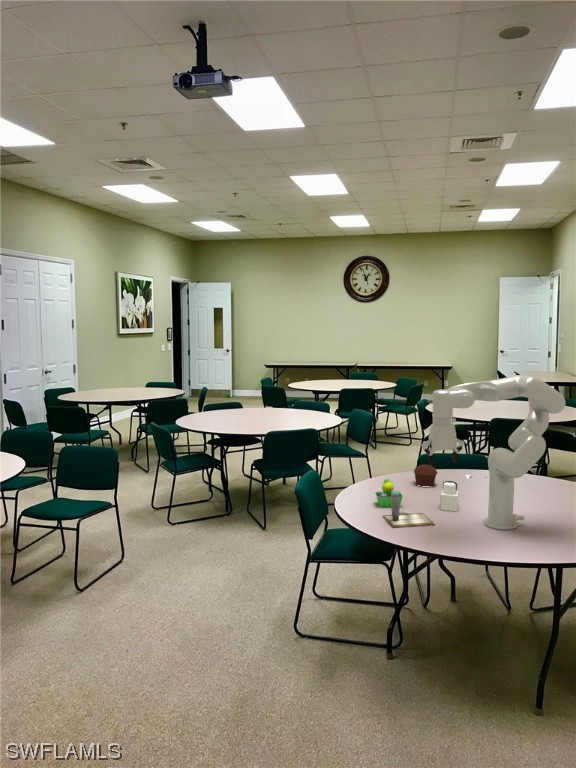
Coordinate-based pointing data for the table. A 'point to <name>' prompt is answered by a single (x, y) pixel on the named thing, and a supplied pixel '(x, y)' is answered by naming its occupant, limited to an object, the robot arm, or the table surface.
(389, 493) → the fruit basket
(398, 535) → the table surface
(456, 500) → the white handled container
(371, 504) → the table surface
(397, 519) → the marker
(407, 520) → the clipboard
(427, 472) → the muffin
